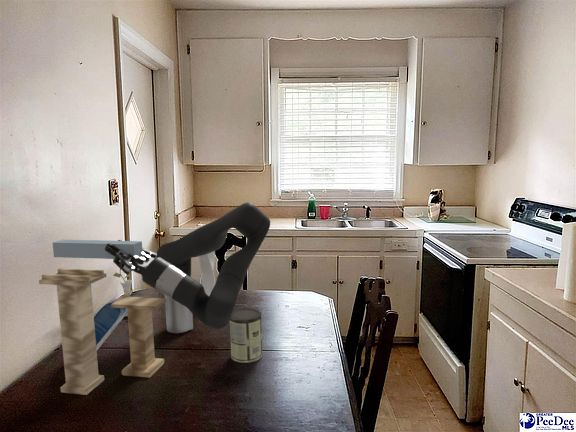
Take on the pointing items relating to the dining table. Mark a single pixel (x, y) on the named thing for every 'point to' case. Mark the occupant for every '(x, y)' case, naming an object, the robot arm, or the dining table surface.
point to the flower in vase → (124, 283)
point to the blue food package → (108, 320)
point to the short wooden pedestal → (141, 335)
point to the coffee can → (246, 335)
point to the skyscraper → (207, 271)
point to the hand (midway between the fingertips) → (112, 244)
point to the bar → (93, 248)
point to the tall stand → (77, 327)
